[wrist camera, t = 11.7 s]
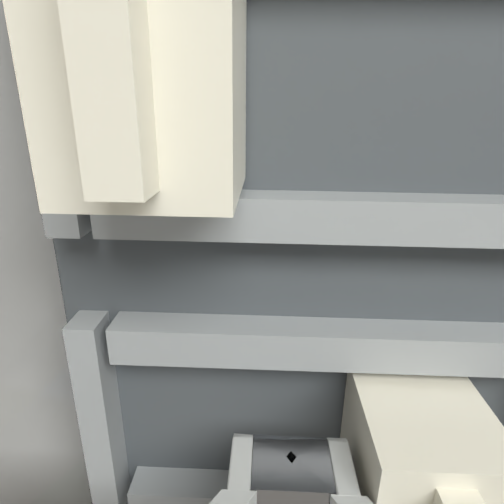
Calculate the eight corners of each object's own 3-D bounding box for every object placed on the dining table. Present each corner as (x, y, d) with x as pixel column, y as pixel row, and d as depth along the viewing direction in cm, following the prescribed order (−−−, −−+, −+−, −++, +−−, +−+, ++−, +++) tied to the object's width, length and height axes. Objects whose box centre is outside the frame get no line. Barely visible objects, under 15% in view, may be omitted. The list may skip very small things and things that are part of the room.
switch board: (0, -276, 8) (-97, -411, 6) (746, -289, 7) (933, -442, 5) (118, 519, 15) (95, 583, 13) (487, 537, 15) (521, 606, 13)
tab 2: (459, 365, 11) (569, 517, 7) (434, 474, 12) (514, 654, 8) (348, 361, 11) (394, 509, 7) (336, 469, 12) (368, 645, 8)
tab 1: (246, -23, 8) (224, -151, 4) (245, 177, 9) (228, 234, 5) (98, -24, 8) (-69, -149, 4) (119, 175, 10) (8, 228, 5)
